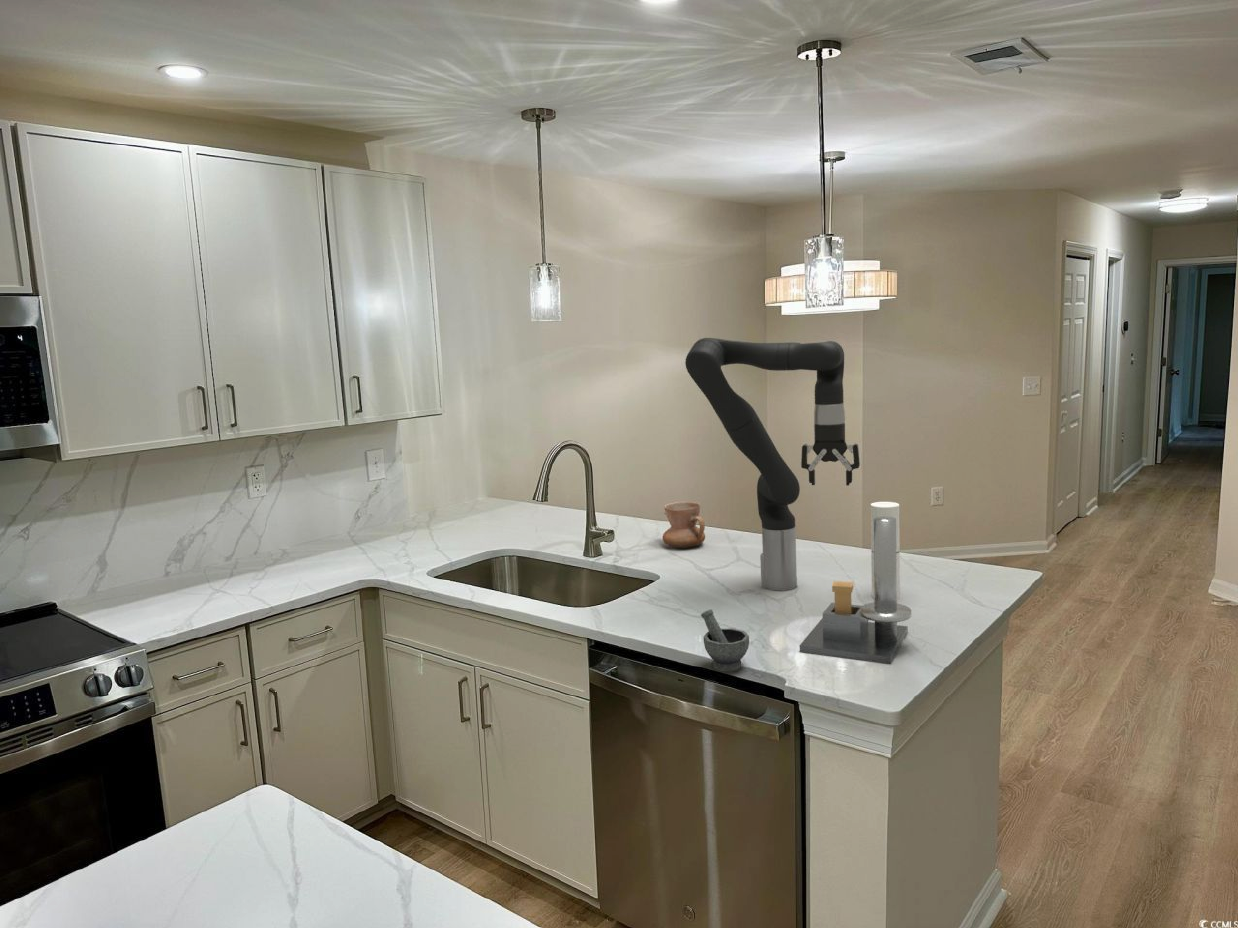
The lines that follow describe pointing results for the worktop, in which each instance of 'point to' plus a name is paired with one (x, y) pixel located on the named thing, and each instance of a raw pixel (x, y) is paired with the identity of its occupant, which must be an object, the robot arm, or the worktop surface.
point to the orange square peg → (842, 596)
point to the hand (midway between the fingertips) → (830, 484)
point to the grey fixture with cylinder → (867, 612)
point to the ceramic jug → (684, 525)
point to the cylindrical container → (893, 511)
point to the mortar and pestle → (724, 644)
